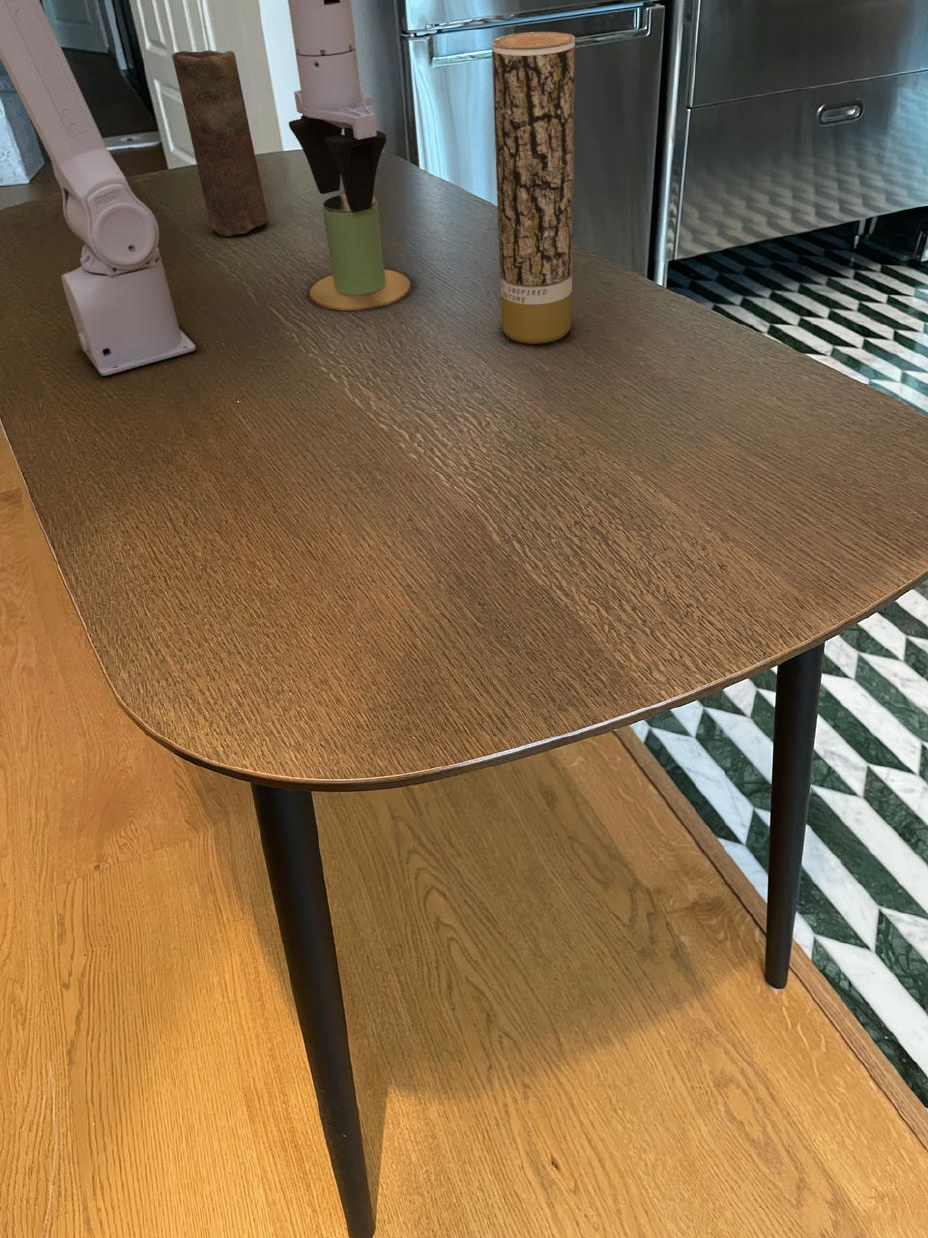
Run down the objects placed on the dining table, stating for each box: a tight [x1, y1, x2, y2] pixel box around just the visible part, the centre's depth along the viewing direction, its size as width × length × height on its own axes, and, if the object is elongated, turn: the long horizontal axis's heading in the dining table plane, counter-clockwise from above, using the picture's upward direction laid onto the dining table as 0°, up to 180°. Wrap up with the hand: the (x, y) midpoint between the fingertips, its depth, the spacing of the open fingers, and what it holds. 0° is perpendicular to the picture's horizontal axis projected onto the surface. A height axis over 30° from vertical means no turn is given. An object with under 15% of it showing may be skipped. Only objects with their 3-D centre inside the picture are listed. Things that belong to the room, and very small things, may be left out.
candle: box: [171, 49, 268, 237], centre depth 118 cm, size 8×7×20 cm
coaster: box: [309, 268, 411, 311], centre depth 106 cm, size 11×11×1 cm
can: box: [322, 193, 386, 297], centre depth 103 cm, size 6×6×9 cm
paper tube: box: [491, 31, 576, 345], centre depth 87 cm, size 7×7×25 cm
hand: (345, 200), depth 100 cm, fingers open, 7 cm apart
